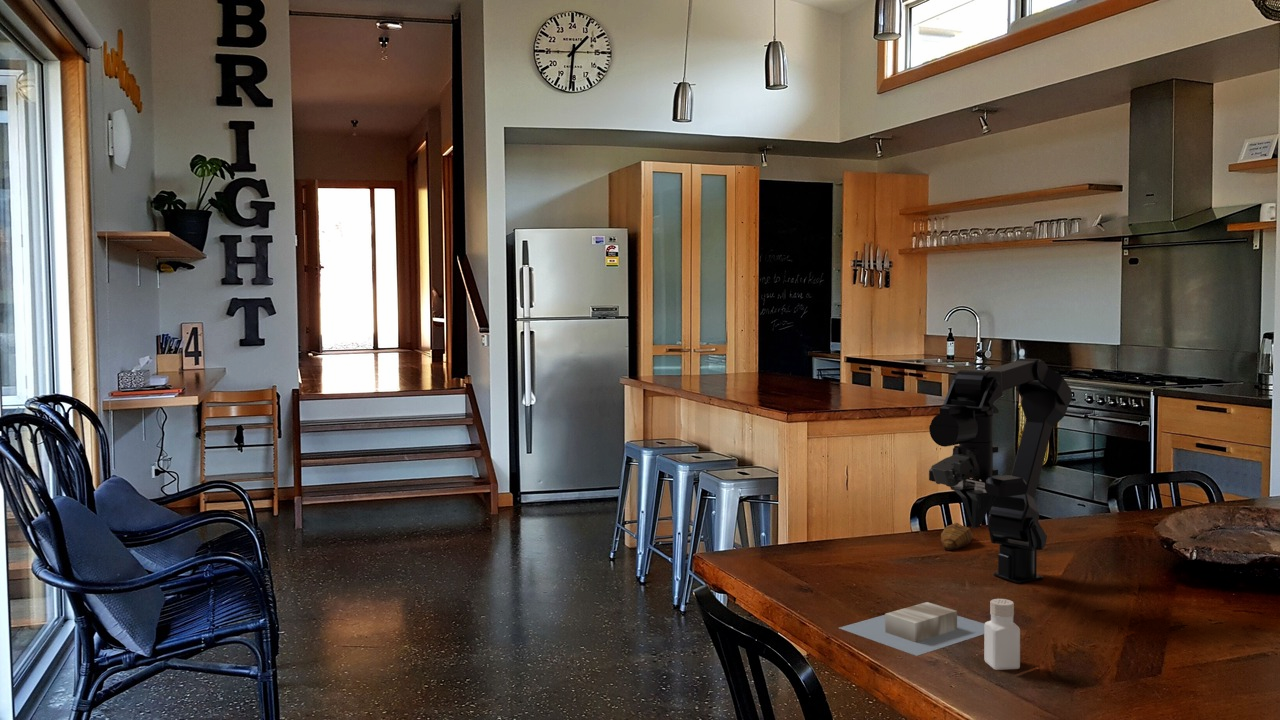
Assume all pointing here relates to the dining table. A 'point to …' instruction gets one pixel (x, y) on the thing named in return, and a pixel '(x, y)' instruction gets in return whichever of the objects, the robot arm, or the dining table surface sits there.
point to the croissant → (955, 536)
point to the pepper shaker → (1002, 637)
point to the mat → (876, 632)
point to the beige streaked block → (921, 621)
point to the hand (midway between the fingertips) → (975, 527)
